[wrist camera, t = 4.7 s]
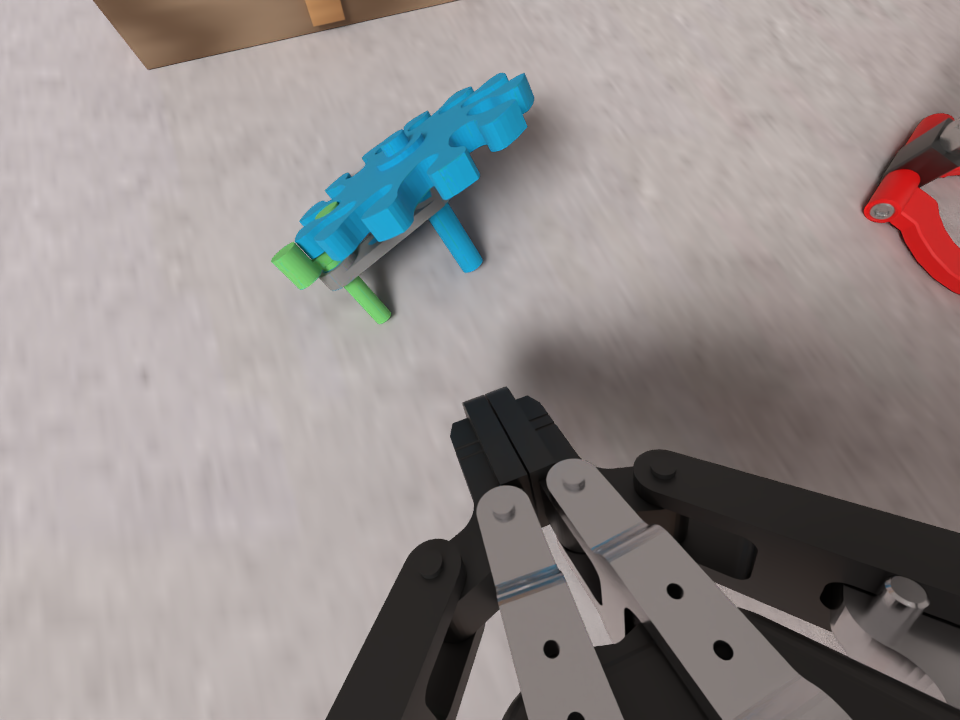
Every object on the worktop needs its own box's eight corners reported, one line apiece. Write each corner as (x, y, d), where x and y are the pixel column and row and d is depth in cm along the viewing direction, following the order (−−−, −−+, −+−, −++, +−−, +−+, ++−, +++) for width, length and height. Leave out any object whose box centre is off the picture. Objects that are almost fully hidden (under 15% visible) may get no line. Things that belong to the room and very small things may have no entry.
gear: (447, 70, 19) (581, 25, 11) (504, 184, 23) (638, 211, 15) (256, 220, 18) (256, 285, 11) (347, 313, 22) (398, 413, 14)
